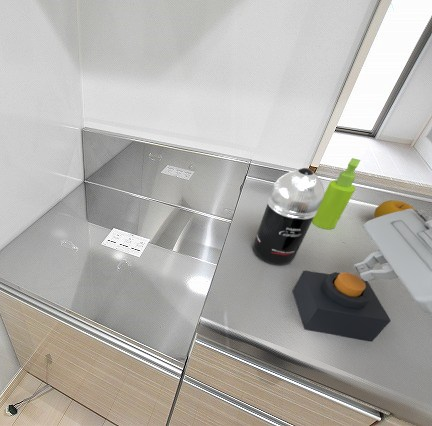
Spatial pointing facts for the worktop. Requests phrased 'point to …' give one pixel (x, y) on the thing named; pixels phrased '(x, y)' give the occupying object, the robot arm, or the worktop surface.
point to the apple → (391, 208)
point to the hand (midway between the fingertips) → (358, 273)
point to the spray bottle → (288, 216)
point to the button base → (338, 308)
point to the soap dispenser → (336, 198)
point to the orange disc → (349, 284)
